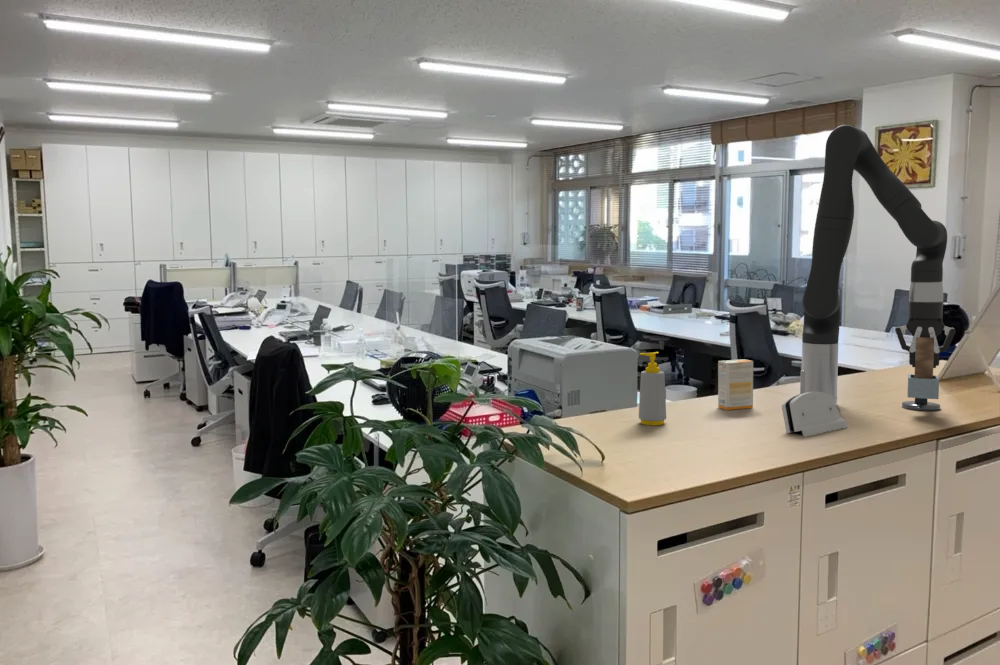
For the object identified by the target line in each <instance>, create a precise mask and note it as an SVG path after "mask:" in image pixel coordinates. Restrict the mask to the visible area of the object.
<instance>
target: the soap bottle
mask: <svg viewBox="0 0 1000 665" xmlns="http://www.w3.org/2000/svg"><path fill="white" fill-rule="evenodd" d="M656 354H657V355H658V354H659V351H654V352H640V353H639V356H646V357H649V360H650V362H648V363H647V367H645V370H643V371H641V372H640V383H639V384H640V386H639V405H638V419H640V422H641V424H642V425H645V426H661V425H664V424H665V420H667V402H666V382H665V381H666V380H665V372H664V371H663V370H660V369H661V368H660V367H659V366H658V363H657V362H655V361H656Z"/></svg>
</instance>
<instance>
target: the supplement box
mask: <svg viewBox="0 0 1000 665" xmlns="http://www.w3.org/2000/svg"><path fill="white" fill-rule="evenodd" d="M717 367H718V368H717V369H718V370H717V372H718V373H717V374H718V375H717V376H718V377H717V378H718V379H717V381H718V382H717V384H718V385H717V391H718V392H717V394H718V395H717V399H718V400H717V401H718V402H717V403H718V404H717V407H718V408H720V409H723V410H726V411H730V410H741V409H743V410H744V409H753V407H754V360H749V359H745V358H744V359H743V358H742V359H741V358H740V359H729V360H726V359H725V360H718V363H717Z"/></svg>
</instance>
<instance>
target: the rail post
mask: <svg viewBox="0 0 1000 665" xmlns="http://www.w3.org/2000/svg"><path fill="white" fill-rule="evenodd" d="M933 361H934V338H930V337H916V348H915V367H914V374H915V376H914V378H926V379H933V375H934V368H933Z"/></svg>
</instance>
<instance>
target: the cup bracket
mask: <svg viewBox="0 0 1000 665" xmlns="http://www.w3.org/2000/svg"><path fill="white" fill-rule="evenodd" d="M914 376H915V373H914V374H912V373H911V374H909V373H908V374H907V392H906V393H907V394H906V396H907V398H910V399H914V400H907V401H903V402H901V408H903V409H907V410H911V411H919V412H937V411H940V410H941V404H939V403H937V402H931V401H928V400H939V394H940V377H939V375H934V374H933V379H926V378H914Z"/></svg>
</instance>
